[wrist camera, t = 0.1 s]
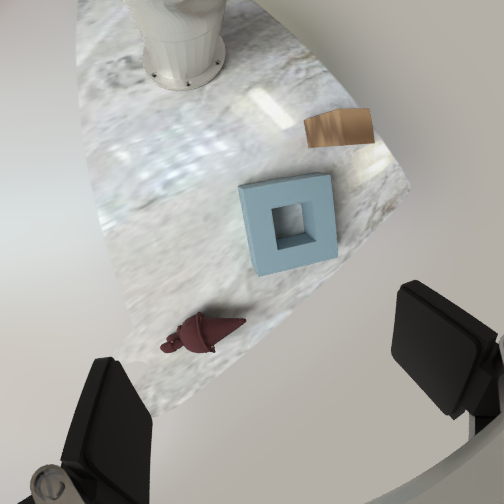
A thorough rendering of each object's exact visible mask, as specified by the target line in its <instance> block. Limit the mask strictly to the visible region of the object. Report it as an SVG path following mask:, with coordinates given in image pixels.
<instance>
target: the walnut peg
mask: <svg viewBox="0 0 504 504" xmlns="http://www.w3.org/2000/svg"><path fill="white" fill-rule="evenodd" d="M304 124H305V129H306V135H307V142H308V148H314V147H327V146H342V145H355V144H368V143H375V141H374V134H373V127H372V121H371V115H370V109H337V110H334V111H331V112H328V113H324V114H321V115H318V116H315V117H312V118H309V119H306V120H304Z"/></svg>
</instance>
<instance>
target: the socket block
mask: <svg viewBox="0 0 504 504" xmlns="http://www.w3.org/2000/svg"><path fill="white" fill-rule="evenodd" d="M238 190H239V195H240V201H241V206H242V211H243V217H244V222H245V228H246V233H247V239H248V244H249V249H250V255H251V260H252V265H253V267H254V269H255V271H256V273H257V275H258V276H259V277H260V276H264V275H269V274H273V273H277V272H281V271H285V270H289V269H293V268H297V267H301V266H305V265H309V264H313V263H317V262H321V261H325V260H329V259H333V258H337V257H338V247H337V234H336V222H335V212H334V202H333V193H332V184H331V176H330V174H323V173H312V174H305V175H299V176H293V177H287V178H281V179H275V180H269V181H264V182H258V183H253V184H248V185H243V186H238ZM298 203H301V205H302V212H303V220H304V228H305V233H304V234H299V235H295V236H290V237H286V238H281V239H276V236H275V230H274V224H273V217H272V211H271V209H273V208H278V207H283V206H288V205H293V204H298Z"/></svg>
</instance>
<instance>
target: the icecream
mask: <svg viewBox="0 0 504 504" xmlns="http://www.w3.org/2000/svg"><path fill="white" fill-rule="evenodd" d="M245 322H246V319H245V318H205V316H204V314H202V313H200V312H199V311H198V313H197V315H194V316H192V317H190V318H188V319H187V320H186V321H185V322H184V323H183V324H182V325H180V326H178V328H177V333H175V334H173V335H170V336H168V337H167V339H166V340H167V342H166V343H164V344H162V345H161V346H160V349H161V350H162V351H163V352H164V353H171V352H174V351H176V350H177V349H179V348H181V347H182V346H183V345H184V346H185V348H186V349H188V350H189V351H191V352H195V353H207V352H213V353H215V347H214V345H215V344H216V343H217V342H219V341H220V340H222V339H223V338H224V337H226V336H227V335H229V334H230V333H231V332H233V331H234V330H236V329H237V328H238V327H240V326H241V325H243V324H244V323H245Z"/></svg>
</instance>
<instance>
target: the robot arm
mask: <svg viewBox="0 0 504 504" xmlns="http://www.w3.org/2000/svg"><path fill="white" fill-rule="evenodd" d="M123 1H124V2H125V4H126V5H127V6H128V8H129V10H130V12H131V14H132V16H133V18H134V20H135V23H136V25H137V27H138V30H139V32H140V34H141V37H142V39H143V41H144V44H145V48H144V52H143V66H144V70H145V72H146V74H147V75H148V77H149V78H150V79H151V80H152V81H153V82H154V83H155V84H157V85H158V86H160V87H162V88H165V89H168V90H174V91H186V90H192V89H195V88H198V87H200V86H202V85H204V84H206V83H208V82H209V81H210V80H212V79H213V78H214V77H215V76H216V75H217V74H218V72H219V71H220V69H221V68H222V66H223V63H224V60H225V55H226V48H225V43H224V41H223V39H222V37H221V36H220V34H219V33H220V29H221V24H222V20H223V15H224V11H225V7H226V0H123ZM216 63H219V65H216ZM155 75H157V76H156V77H155V78H154V76H155ZM188 84H190V86H187V85H188ZM497 335H498V334H497V333H496V332H495V331H493V330H492V329H490V328H489V327H488V326H486V325H485V324H483V323H482V322H480V321H479V320H478V319H476V318H475V317H473V316H472V315H470V314H469V313H467V312H466V311H464V310H463V309H461V308H460V307H458V306H457V305H455V304H454V303H452V302H451V301H449V300H448V299H446V298H445V297H443V296H442V295H440V294H438V293H437V292H435V291H434V290H432V289H431V288H429V287H428V286H426V285H424V284H423V283H421V282H420V281H418V280H413V281H410V282H407V283H405V284H402V285H401V287H400V290H399V291H398V292H397V301H396V313H395V322H394V332H393V339H392V346H391V354H392V356H393V358H394V359H395V361H396V362H397V363H398V364H399V365H400V366H401V367H402V368H403V369H404V370H405V371H406V372H407V373H408V375H409V376H410V377H411V378H412V379H413V380H414V381H415V382H416V383H417V384H418V385H419V387H420V388H421V389H422V390H423V391H424V392H425V393H426V394H427V395H428V397H429V398H430V399H431V400H432V401H433V402H434V403H435V404H436V405H437V407H438V408H439V409H440V410H441V411H442V412H443V413H444V414H445V415H449V416H450V417H451V418H452V419H453V420H455V419H456V418H458V417H459V416H460V415H461V414H463V413H464V412H465V410H467V411H468V412H469V441H468V442H467V443H466V444H465V445H463V446H462V447H460V448H459V449H458V450H456V451H455V452H454V453H452V454H451V455H450V456H448V457H447V458H445V459H444V460H442V461H441V462H439V463H438V464H436V465H435V466H433V467H432V468H430V469H429V470H427V471H426V472H424V473H422V474H421V475H419V476H417V477H416V478H414V479H412V480H411V481H409V482H407V483H405V484H403V485H402V486H400V487H398V488H396V489H394V490H392V491H390V492H388V493H386V494H384V495H382V496H380V497H378V498H376V499H374V500H372V501H370V502H367V503H365V504H504V335H503V336H502V337H501V338H500V341H499V344H498V343H496V342H495V341H496V338H497ZM152 425H153V424H152V418H151V415H150V413H149V412H148V410H147V408H146V407H145V405H144V404H143V402H142V400H141V399H140V397H139V395H138V394H137V392H136V390H135V388H134V387H133V385H132V383H131V382H130V380H129V378H128V376H127V374H126V372H125V371H124V369H123V367H122V365H121V363H120V362H119V361H115V360H114V358H112V357H105V358H98V359H95V360H94V362H93V364H92V367H91V369H90V372H89V374H88V377H87V380H86V382H85V385H84V388H83V390H82V393H81V396H80V399H79V401H78V404H77V407H76V410H75V413H74V416H73V419H72V422H71V425H70V428H69V432H68V435H67V438H66V442H65V445H64V449H63V452H62V456H61V459H60V460H61V461H62V464H61V467H59V466H57V465H53V464H50V465H45V466H42V467H40V468H39V469H38V470H37V471H36V472H35V473H34V474H33V476H32V478H31V481H30V490H31V494H32V495H30V496H29V497H27V498H26V499H24V500H23V501H21V502H19V503H18V504H149V489H150V485H149V484H150V457H151V439H152Z"/></svg>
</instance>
